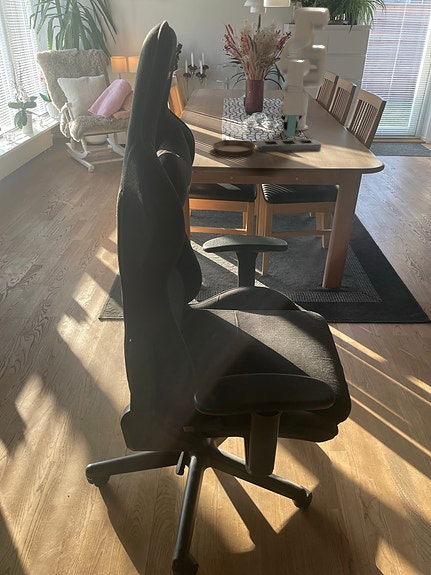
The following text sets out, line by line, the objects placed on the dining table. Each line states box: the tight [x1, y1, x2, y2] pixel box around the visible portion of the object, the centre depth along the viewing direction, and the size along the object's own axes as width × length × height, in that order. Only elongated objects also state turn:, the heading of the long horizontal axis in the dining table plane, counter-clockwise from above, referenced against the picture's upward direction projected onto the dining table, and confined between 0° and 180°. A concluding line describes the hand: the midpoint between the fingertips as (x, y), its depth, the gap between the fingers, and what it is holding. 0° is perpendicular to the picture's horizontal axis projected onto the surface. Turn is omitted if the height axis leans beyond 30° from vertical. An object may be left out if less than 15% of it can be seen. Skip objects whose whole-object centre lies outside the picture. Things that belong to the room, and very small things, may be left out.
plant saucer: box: [212, 139, 256, 157], centre depth 223 cm, size 21×21×3 cm
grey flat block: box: [255, 138, 322, 153], centre depth 229 cm, size 10×30×3 cm, turn 99°
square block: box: [284, 116, 297, 137], centre depth 223 cm, size 4×4×10 cm
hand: (290, 129), depth 224 cm, fingers closed on square block, 4 cm apart
